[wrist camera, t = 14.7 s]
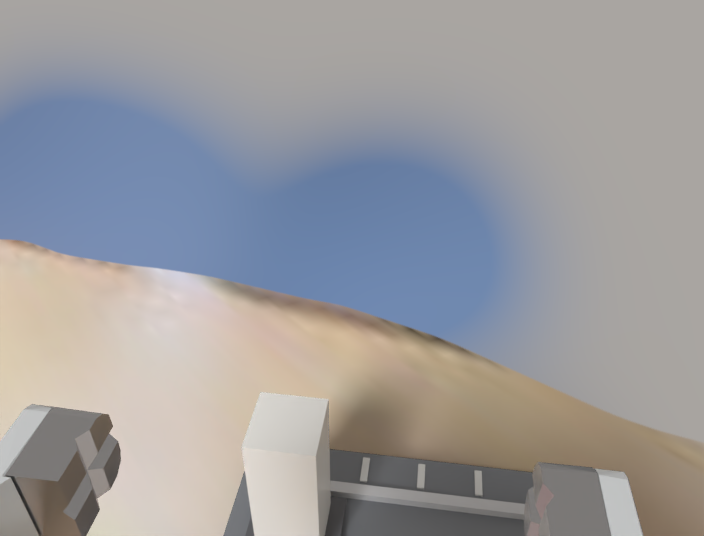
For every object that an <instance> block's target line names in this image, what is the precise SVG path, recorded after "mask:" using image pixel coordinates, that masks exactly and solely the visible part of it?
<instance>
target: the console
mask: <svg viewBox="0 0 704 536" xmlns="http://www.w3.org/2000/svg"><path fill="white" fill-rule="evenodd" d="M532 474H533V473H532V472H524V471H515V470H506V469H498V468H489V467H480V466H472V465H463V464H455V463H446V462H437V461H429V460H420V459H411V458H403V457H394V456H385V455H377V454H368V453H359V452H351V451H342V450H333V449H330V493H331V497H337V498H345V499H347V504H346V510H345V516H344V523H343V529H342V535H341V536H525V533H524V508H525V500H526V496H527V492H528V489H530V488H532V487H533V477H532ZM250 518H251V509H250V503H249V496H248V489H247V482H246V475H245V471H244V474H243V477H242V480H241V484H240V487H239V490H238V493H237V496H236V499H235V502H234V505H233V508H232V511H231V514H230V517H229V520H228V523H227V526H226V530H225V533H224V536H245V535H246V531H247V528H248V525H249V521H250Z"/></svg>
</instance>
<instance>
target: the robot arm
mask: <svg viewBox="0 0 704 536" xmlns="http://www.w3.org/2000/svg"><path fill="white" fill-rule="evenodd" d="M112 427H113V425H112V422H111V419H110V417H109V415H108V414H101V413H94V412H87V411H80V410H73V409H66V408H59V407H51V406H43V405H35V404H32V405H30V406H28V407H27V408H25V409H24V410H23V411H22V412H21V414H20V415H19V416H18V418H17V419H16V420H15V422H14V423H13V424H12V426H11V427H10V428H9V430H8V431H7V433H6V434H5V435H4V437H3V438H2V439H1V441H0V536H86V535H87V533H88V531H89V529H90V527H91V525H92V524H93V522H94V520H95V518H96V516H97V514H98V512H99V510H100V508H99V504H98V499H97V498H99V497H100V496H101V495H103V494H104V493H106V492H107V491H108V490H110V489H111V487H112V485H113V483H114V481H115V479H116V477H117V473H118V469H119V465H120V461H121V456H120V447H119V443H118V441H117V440H116V439H115V438H114V437H112V436H111V435H110V434H109V432H110V431H111V429H112ZM532 477H533V487H532V488H530V489H528V492H527V496H526V500H525V508H524V533H525V536H643V532H642V528H641V525H640V521H639V517H638V514H637V510H636V506H635V503H634V499H633V495H632V491H631V488H630V484H629V480H628V477H627V476H626V474H625V473H624V472H621V471H613V470H603V469H593V468H592V467H582V466H571V465H561V464H551V463H541V462H537V464H536V465H535V467H534V470H533V474H532Z"/></svg>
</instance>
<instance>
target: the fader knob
mask: <svg viewBox="0 0 704 536" xmlns="http://www.w3.org/2000/svg"><path fill="white" fill-rule="evenodd" d="M241 448H242V455H243V462H244V468H245V475H246V482H247V489H248V496H249V503H250V509H251V518H250V521H249V525H248V528H247V531H246V535H245V536H341V535H342V529H343V523H344V516H345V510H346V504H347V499H345V498H337V497H331V493H330V446H329V399H321V398H312V397H303V396H293V395H284V394H275V393H265V392H260V395H259V398H258V401H257V404H256V406H255V409H254V412H253V415H252V418H251V421H250V424H249V427H248V430H247V433H246V436H245V439H244V441H243V444H242V447H241Z"/></svg>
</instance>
